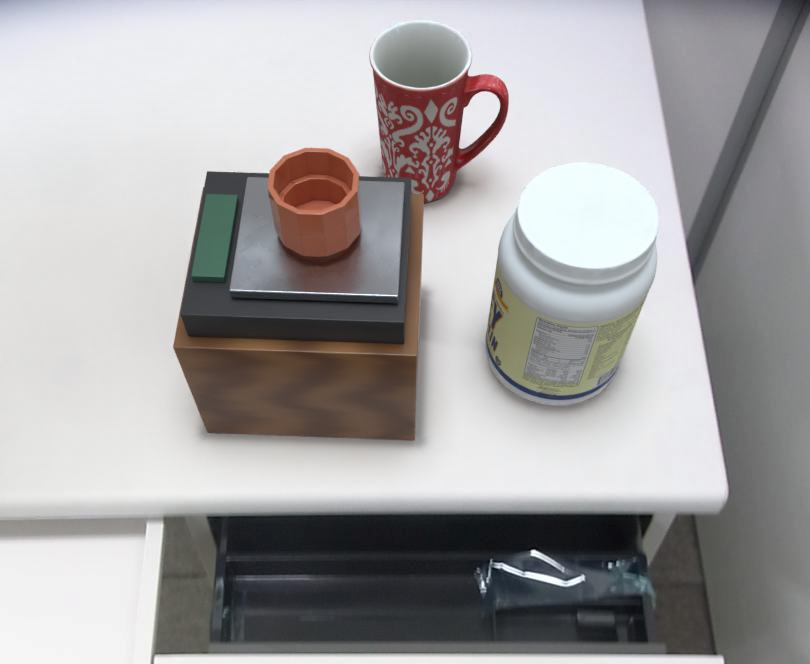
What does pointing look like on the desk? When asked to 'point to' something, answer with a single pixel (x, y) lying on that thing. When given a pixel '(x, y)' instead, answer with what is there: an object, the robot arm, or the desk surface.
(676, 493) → the desk surface
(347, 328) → the scale
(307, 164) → the bowl
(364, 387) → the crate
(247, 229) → the scale pan
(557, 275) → the supplement tub
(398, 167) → the mug
